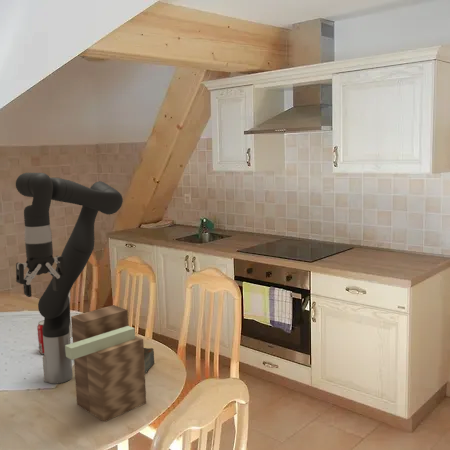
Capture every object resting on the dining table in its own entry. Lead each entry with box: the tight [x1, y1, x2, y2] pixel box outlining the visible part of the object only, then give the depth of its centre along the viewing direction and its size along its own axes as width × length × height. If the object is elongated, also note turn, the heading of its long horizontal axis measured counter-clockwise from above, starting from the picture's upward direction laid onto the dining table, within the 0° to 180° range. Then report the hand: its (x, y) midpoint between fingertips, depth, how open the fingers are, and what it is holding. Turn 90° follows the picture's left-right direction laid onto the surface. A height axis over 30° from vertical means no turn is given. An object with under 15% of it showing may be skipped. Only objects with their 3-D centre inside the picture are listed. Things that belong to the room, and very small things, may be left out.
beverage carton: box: [144, 347, 155, 374], centre depth 195 cm, size 8×19×7 cm, turn 167°
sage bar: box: [65, 325, 136, 361], centre depth 162 cm, size 22×4×4 cm, turn 136°
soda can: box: [36, 319, 44, 355], centre depth 215 cm, size 7×7×13 cm
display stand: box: [70, 304, 147, 422], centre depth 170 cm, size 16×16×30 cm
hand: (42, 293), depth 158 cm, fingers open, 8 cm apart
